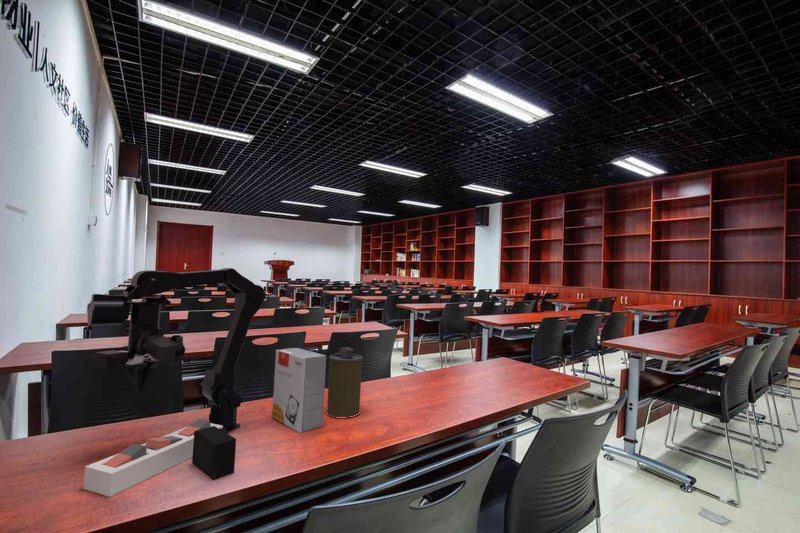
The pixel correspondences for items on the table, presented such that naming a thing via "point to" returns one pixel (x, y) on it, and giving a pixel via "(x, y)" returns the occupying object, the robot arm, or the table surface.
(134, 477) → the rocker switch panel
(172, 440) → the rocker
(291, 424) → the hard drive box
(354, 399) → the canister
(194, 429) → the rocker
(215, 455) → the black cubic block
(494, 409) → the table surface
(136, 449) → the rocker
